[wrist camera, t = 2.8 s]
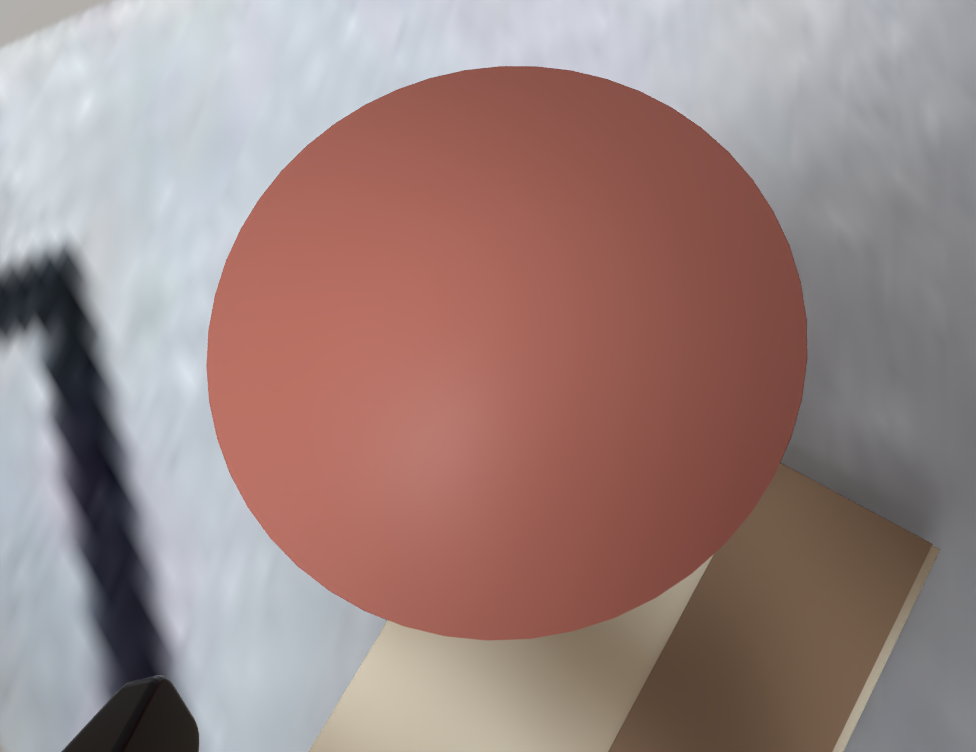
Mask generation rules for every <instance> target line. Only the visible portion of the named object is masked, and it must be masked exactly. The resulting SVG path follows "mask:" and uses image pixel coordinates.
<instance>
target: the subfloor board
mask: <svg viewBox="0 0 976 752" xmlns="http://www.w3.org/2000/svg"><path fill="white" fill-rule="evenodd" d="M932 545H933V544H931V543H929V542H927V541H926V540H924V539H922V538H920V537H918V536H916V535H914V534H913V533H911V532H909V531H907V530H905V529H903V528H901V527H899V526H898V525H896V524H894V523H892V522H890V521H888V520H886V519H884V518H883V517H881V516H879V515H877V514H875V513H873V512H871V511H869V510H868V509H866V508H864V507H862V506H860V505H858V504H856V503H855V502H853V501H851V500H849V499H847V498H845V497H843V496H841V495H840V494H838V493H836V492H834V491H832V490H830V489H828V488H826V487H825V486H823V485H821V484H819V483H817V482H815V481H813V480H811V479H810V478H808V477H806V476H804V475H802V474H800V473H798V472H797V471H795V470H793V469H791V468H789V467H787V466H785V465H783V464H782V463H780V464H779V466H778V469H777V471H776V473H775V475H774V477H773V479H772V480H771V482H770V484H769V485H768V487H767V488H766V490H765V492H764V493H763V495H762V496H761V498H760V500H759V501H758V503H757V504H756V506H755V508H754V509H753V511H752V512H751V514H750V515H749V516H748V517H747V518H746V519H745V521H744V522H743V523H742V524H741V525H740V527H739V528H738V529H737V530H736V531H735V533H734V534H733V535H732V536H731V537H730V538H729V540H728V541H727V542H726V543H725V544H724V545H723V546H722V547H721V548H720V549H719V550H718V551H717V552H716V553H714V554H713V555H712V556H711V557H710V558H709V559H708V560H707V561H706V562H704V563H703V564H702V565H701V566H700V567H699V568H698V569H697V570H695V571H694V572H693V573H692V574H691V575H689V576H688V577H686V578H685V579H683V580H682V581H680V582H679V583H677V584H676V585H674V586H673V587H671V588H670V589H668V590H667V591H665V592H664V593H662V594H661V595H659V596H658V597H657V598H655V599H653V600H651V601H649V602H647V603H645V604H643V605H640V606H638V607H636V608H634V609H632V610H630V611H628V612H626V613H624V614H622V615H620V616H618V617H616V618H613V619H610V620H607V621H603V622H600V623H597V624H594V625H591V626H588V627H585V628H582V629H579V630H576V631H572V632H566V633H561V634H555V635H550V636H544V637H538V638H533V639H514V640H489V641H487V640H477V639H467V638H457V637H447V636H441V635H437V634H433V633H429V632H425V631H421V630H417V629H412V628H408V627H404V626H401V625H399V624H396V623H394V622H391V621H389V620H388V621H387V623H386V624H385V626H384V628H383V629H382V631H381V632H380V634H379V636H378V637H377V639H376V641H375V642H374V644H373V646H372V647H371V649H370V651H369V652H368V654H367V656H366V657H365V659H364V661H363V662H362V664H361V666H360V667H359V669H358V671H357V672H356V674H355V676H354V677H353V679H352V681H351V682H350V684H349V686H348V687H347V689H346V691H345V692H344V694H343V695H342V697H341V699H340V700H339V702H338V704H337V705H336V707H335V709H334V710H333V712H332V714H331V715H330V717H329V719H328V720H327V722H326V724H325V725H324V727H323V729H322V730H321V732H320V734H319V735H318V737H317V739H316V740H315V742H314V744H313V745H312V747H311V749H310V750H309V752H843V751H844V749H845V747H846V745H847V743H848V741H849V739H850V737H851V735H852V732H853V730H854V728H855V726H856V724H857V722H858V720H859V718H860V716H861V714H862V712H863V710H864V707H865V705H866V703H867V701H868V699H869V697H870V695H871V693H872V691H873V689H874V687H875V685H876V683H877V680H878V678H879V676H880V674H881V672H882V670H883V668H884V666H885V664H886V662H887V660H888V658H889V655H890V653H891V651H892V649H893V647H894V645H895V643H896V641H897V639H898V637H899V635H900V633H901V630H902V628H903V626H904V624H905V622H906V620H907V618H908V616H909V614H910V612H911V610H912V608H913V605H914V603H915V601H916V599H917V597H918V595H919V593H920V591H921V589H922V587H923V585H924V583H925V581H926V578H927V576H928V574H929V572H930V570H931V568H932V566H933V564H934V562H935V560H936V558H937V556H938V553H939V551H940V549H938V548H936V547H934V546H932Z"/></svg>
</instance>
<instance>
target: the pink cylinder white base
mask: <svg viewBox="0 0 976 752" xmlns="http://www.w3.org/2000/svg"><path fill="white" fill-rule="evenodd" d="M806 364H807V319H806V313H805V307H804V300H803V294H802V288H801V282H800V278H799V275H798V272H797V269H796V265H795V262H794V259H793V256H792V252H791V249H790V246H789V244H788V241H787V239H786V237H785V235H784V233H783V231H782V229H781V227H780V224H779V222H778V220H777V218H776V216H775V214H774V212H773V210H772V209H771V207H770V205H769V204H768V202H767V201H766V199H765V198H764V196H763V195H762V193H761V192H760V190H759V189H758V187H757V185H756V184H755V182H754V181H753V180H752V178H751V177H750V176H749V175H748V174H747V173H746V171H745V170H744V169H743V168H742V167H741V166H740V165H739V163H738V162H737V161H736V160H735V159H734V158H733V156H732V155H731V154H730V153H729V152H728V151H727V150H726V149H725V148H724V147H722V146H721V145H720V144H719V143H718V142H717V141H716V140H715V139H713V138H712V137H711V136H710V135H709V134H708V133H707V132H706V131H704V130H703V129H702V128H701V127H699V126H698V125H696V124H695V123H694V122H692V121H691V120H689V119H688V118H686V117H685V116H683V115H682V114H680V113H679V112H677V111H676V110H674V109H673V108H671V107H669V106H668V105H666V104H664V103H662V102H660V101H658V100H656V99H654V98H652V97H650V96H648V95H646V94H644V93H642V92H640V91H638V90H635V89H632V88H629V87H627V86H624V85H621V84H619V83H616V82H613V81H610V80H608V79H604V78H600V77H596V76H592V75H587V74H583V73H579V72H575V71H570V70H561V69H553V68H544V67H529V66H500V67H491V68H482V69H473V70H464V71H460V72H456V73H451V74H447V75H442V76H438V77H433V78H429V79H427V80H424V81H421V82H418V83H415V84H412V85H409V86H406V87H404V88H401V89H398V90H395V91H393V92H391V93H389V94H387V95H385V96H383V97H381V98H379V99H377V100H374V101H372V102H370V103H368V104H366V105H364V106H362V107H361V108H359V109H358V110H356V111H354V112H353V113H351V114H350V115H348V116H346V117H345V118H343V119H342V120H340V121H338V122H337V123H335V124H334V125H333V126H331V127H330V128H329V129H327V130H326V131H325V132H324V133H322V134H321V135H320V136H319V137H317V138H316V139H315V140H314V141H312V142H311V143H310V144H308V145H307V146H306V147H305V148H304V149H303V150H302V151H301V152H300V153H299V154H298V155H297V156H296V157H295V158H294V159H293V160H292V161H291V162H290V163H289V164H288V165H287V166H286V167H285V168H284V169H283V170H282V171H281V172H280V174H279V175H278V176H277V177H276V179H275V180H274V181H273V182H272V184H271V185H270V186H269V187H268V189H267V190H266V191H265V192H264V194H263V195H262V196H261V197H260V199H259V200H258V202H257V204H256V205H255V207H254V208H253V210H252V212H251V213H250V215H249V217H248V218H247V220H246V221H245V223H244V225H243V226H242V228H241V230H240V232H239V234H238V236H237V238H236V241H235V243H234V245H233V247H232V249H231V251H230V253H229V256H228V258H227V260H226V263H225V266H224V269H223V272H222V275H221V278H220V281H219V284H218V288H217V291H216V294H215V298H214V304H213V309H212V314H211V320H210V325H209V332H208V350H207V378H208V391H209V403H210V407H211V412H212V417H213V421H214V426H215V431H216V435H217V439H218V442H219V445H220V448H221V450H222V453H223V456H224V459H225V461H226V464H227V467H228V470H229V472H230V474H231V476H232V478H233V480H234V482H235V484H236V486H237V488H238V490H239V491H240V493H241V495H242V497H243V499H244V501H245V503H246V505H247V507H248V508H249V509H250V511H251V512H252V513H253V515H254V516H255V518H256V519H257V520H258V522H259V523H260V524H261V526H262V527H263V529H264V530H265V531H266V533H267V534H268V535H269V537H270V538H271V539H272V540H273V541H274V542H275V543H276V544H277V545H278V546H279V547H280V548H281V550H282V551H283V552H284V553H285V554H286V555H287V556H288V557H289V558H290V559H291V560H292V561H293V562H294V563H295V564H296V565H297V566H298V567H299V568H301V569H302V570H303V571H305V572H306V573H307V574H308V575H310V576H311V577H312V578H314V579H315V580H316V581H317V582H319V583H320V584H321V585H323V586H324V587H325V588H326V589H328V590H329V591H331V592H332V593H334V594H336V595H338V596H339V597H341V598H343V599H345V600H346V601H348V602H350V603H352V604H353V605H355V606H357V607H359V608H360V609H362V610H364V611H366V612H369V613H371V614H374V615H376V616H379V617H381V618H384V619H386V620H389V621H391V622H394V623H396V624H399V625H401V626H404V627H408V628H412V629H417V630H421V631H425V632H429V633H433V634H437V635H441V636H447V637H457V638H467V639H477V640H487V641H489V640H514V639H533V638H538V637H544V636H550V635H555V634H561V633H566V632H572V631H576V630H579V629H582V628H585V627H588V626H591V625H594V624H597V623H600V622H603V621H607V620H610V619H613V618H616V617H618V616H620V615H622V614H624V613H626V612H628V611H630V610H632V609H634V608H636V607H638V606H640V605H643V604H645V603H647V602H649V601H651V600H653V599H655V598H657V597H658V596H659V595H661V594H662V593H664V592H665V591H667V590H668V589H670V588H671V587H673V586H674V585H676V584H677V583H679V582H680V581H682V580H683V579H685V578H686V577H688V576H689V575H691V574H692V573H693V572H694V571H695V570H697V569H698V568H699V567H700V566H701V565H702V564H703V563H704V562H706V561H707V560H708V559H709V558H710V557H711V556H712V555H713V554H714V553H716V552H717V551H718V550H719V549H720V548H721V547H722V546H723V545H724V544H725V543H726V542H727V541H728V540H729V538H730V537H731V536H732V535H733V534H734V533H735V531H736V530H737V529H738V528H739V527H740V525H741V524H742V523H743V522H744V521H745V519H746V518H747V517H748V516H749V515H750V514H751V512H752V511H753V509H754V508H755V506H756V504H757V503H758V501H759V500H760V498H761V496H762V495H763V493H764V492H765V490H766V488H767V487H768V485H769V484H770V482H771V480H772V479H773V477H774V475H775V473H776V471H777V469H778V466H779V464H780V462H781V460H782V457H783V455H784V453H785V451H786V448H787V446H788V444H789V442H790V439H791V436H792V433H793V429H794V426H795V422H796V419H797V415H798V411H799V408H800V404H801V401H802V395H803V387H804V380H805V372H806Z"/></svg>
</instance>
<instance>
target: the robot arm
mask: <svg viewBox="0 0 976 752" xmlns="http://www.w3.org/2000/svg"><path fill="white" fill-rule="evenodd" d="M62 752H199V732H198V727H197V724H196V722H195V720H194V718H193V716H192V715H191V713H190V711H189V710H188V708H187V706H186V705H185V703H184V702H183V700H182V698H181V697H180V695H179V693H178V692H177V690H176V689H175V687H174V685H173V684H172V682H171V681H170V680H169V679H168V678H166V677H165V676H159V675H157V676H152V677H148V678H143V679H139V680H134V681H131V682H128V683H126V684H125V685H123V686H122V687H121V688H120V689H119V690H118V691H117V692H116V693H115V695H114V696H113V697H112V698H111V699H110V700H109V701H108V702H107V703H106V704H105V705H104V706H103V708H102V709H101V710H100V711H99V712H98V713H97V714H96V715H95V716H94V717H93V718H92V719H91V721H90V722H89V723H88V724H87V725H86V726H85V727H84V728H83V729H82V730H81V731H80V732H79V734H78V735H77V736H76V737H75V738H74V739H73V740H72V741H71V742H70V743H69V744H68V745H67V747H66V748H65V749H64V750H63V751H62Z"/></svg>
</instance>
